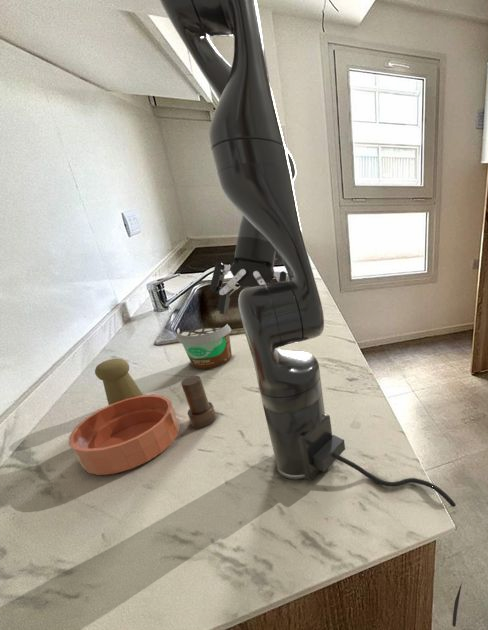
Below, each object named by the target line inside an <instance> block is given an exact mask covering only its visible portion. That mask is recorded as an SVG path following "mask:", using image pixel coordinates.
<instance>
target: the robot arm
mask: <svg viewBox="0 0 488 630" xmlns="http://www.w3.org/2000/svg"><path fill="white" fill-rule="evenodd" d="M159 1H160V4H161V7H162V8H163V10H164V12H165V13H166V15H167V18H168V19H169V21H170V23H171V24H172V26H173V28H174V29H175V31H176V33H177V34H178V36H179V38H180V39H181V41H182V43H183V44H184V46H185V47H186V49H187V51H188V53H189V54H190V55H191V57H192V59H193V61H194V63H195V64H196V66H197V67H198V69H199V70H200V72H201V74H202V75H203V77H204V78H205V80H206V81H207V83H208V84H209V86H210V87H211V89H212V91H213V92H214V94H215V96H216V97H217V99H218V102H217V104H216V107H215V109H214V112H213V115H212V117H211V121H210V125H209V130H208V131H209V132H208V141H209V146H210V151H211V155H212V159H213V164H214V167H215V172H216V175H217V178H218V179H217V180H218V183H219V186H220V188H221V191H222V192H223V194H224V196H225V198H227V200H228V201H229V202H230V203H231V205H232V206H233V207H234V209H236V210H237V211H238V212H239V213H240V214H241V215H242V216H241V219H240V223H239V227H238V232H237V238H236V243H235V249H234V250H235V251H234V258H233V262H232V263H231V265H229V264H224V263H222V262H220V261H216V263H215V264H214V268H213V272H212V276H211V277H212V278H211V281H210V285H209V290H210V291H211V292H214V293H216V294H218V302H217V303H218V304H217V311H218V312H219V314H220V315H228V313H229V307H230V302H231V297H230V296H231V295H232V294H233V293H234V292H235V291H237V290H238V289H240V288H243V289H241V290H240V292H239V294H238V299H237V307H238V312H239V317H240V321H241V325H242V328H243V331H244V335H245V337H246V341H247V344H248V346H249V351H250V354H251V357H252V362H253V364H254V365H253V366H254V371H255V375H256V380H257V385H258V390H259V394H260V398H261V402H262V407H263V411H264V417H265V420H266V421H265V422H266V426H267V429H268V433H269V438H270V442H271V447H272V451H273V455H274V461H275V466H276V470H277V472H278V474H279V475H280V476H282V477H284V478H285V479H289V480H303V479H307V480H308V481H312V480H313V479H314V478H315V477H316V476H317V475H318V474H319V473H320V472H321V471H322V472H323V473H324V472H326V471H327V469H328V468H329V467H330V466H331V465H332V464H333V463H334V462H335V461H336V460H337V461H340V462H341V463H343V464H345V465H347V466H349V467H351V468H353V469H354V470H355V471H356V472H357V471H358V472H359V473H360V474H362V475H363V476H364V477H366V478H368V479H369V480H372V481H373V482H375V483H377V484H379V485H381V486H385V487H389V488H390V487H400V486H402V485H406V484H412V483H414V484H418V485H422V486H425V487H428V488H430V489H431V490H433V489H434V490H433V491H435V492H436V493H438V494H439V495H440V496H441V497H442V498H443V499H444V500H445V501H446V502H447V503H448V504H449V506H451V507H453V508H455V507H457V504H456V502H455V501H454V500H453V499H452V498H451V497H450V496H449V495H448V494H447V493H446V492H445V491H444V490H443V489H442V488H441V487H439V486H438V485H435V484H434V483H432V482H430V481H428V480H424V479H420V478H416V477H415V478H414V477H409V478H404V479H401V480H397V481H387V480H383V479H381V478H379V477H377V476H376V475H374V474H372V473H370V472H369V471H367V470H366V469H364V468H362V467H361V466H360V465H358V464H356V463H355V462H353V461H351V460H349V459H347V458H345V457H343V456H341V455H342V453H343V452H344V451H345V450H346V445H345V439H344V438H341V437H339V436H337V435H335V434H333V431H332V430H333V429H332V423H331V417H330V415H329V414H328V413H326V410H325V409H326V408H325V401H324V396H323V395H324V394H323V387H322V386H323V385H322V378H321V370H320V363H319V361H318V359H317V357H315V355H313V353H310V352H307V351H304V350H297V349H285V348H282V347H286V346H290V345H293V344H297V343H300V342H304V341H308V340H312V339H315V338H318V337H320V336H321V335H322V334H323V331H324V329H325V316H324V315H325V314H324V308H323V303H322V300H321V296H320V292H319V290H318V286H317V281H316V278H315V274H314V270H313V267H312V263H311V260H310V257H309V253H308V249H307V247H306V246H307V245H306V242H305V239H304V233H303V230H302V225H301V220H300V217H299V212H298V205H297V201H296V195H295V189H294V181H295V179H296V176H297V169H296V164H295V161H294V159H293V156H292V153H290V151H289V150H288V148H287V147H286V144H285V141H284V136H283V131H282V128H281V124H280V120H279V116H278V112H277V108H276V103H275V99H274V95H273V90H272V86H271V85H272V84H271V80H270V75H269V69H268V63H267V62H268V61H267V57H266V51H265V44H264V37H263V32H262V31H263V30H262V25H261V18H260V12H259V6H258V0H159ZM211 38H234V39H233V58H232V64H230V63H229V62H228V61H227V60H226V58H225V57H224V56H223V55H222V54H221V53H220V51H219V50H218V49H217V48H216V46H215V44H214V43H213V42H212V39H211ZM276 254H277V256H278V257H279V258H280V260H281V262H282V264H283V265H284V268H285V270H286V271H284V270H282V271H275V269H274V267H275V260H276ZM229 272H230V273H231V274H232V278H231V279H229V280H228V281H227V282H226V284H225V285H224V279H225V276H226V275H228V274H229ZM274 278H276V281H277V282H271V281H272V280H273V279H274ZM270 282H271V283H270ZM223 285H224V286H223ZM432 486H433V487H432ZM462 585H463V582H461V583H460V586H459V589H458V590H457V594H456V597H455V600H454V605H453V606H454V607H453V611H452V612H453V613H452V624H451V625H452V627H453V628H456V626H457V616H458V608H459V602H460V596H461V589H462Z"/></svg>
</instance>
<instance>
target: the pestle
mask: <svg viewBox="0 0 488 630" xmlns="http://www.w3.org/2000/svg"><path fill="white" fill-rule="evenodd" d="M180 385H181V387H182V391H183V394H184V396H185V399H186V402H187V405H188V407H189V409H188V410H187V417H188V419H189V422H190V424H191V427H193V428H197V429H201V428H205V427H207V426H210V425H211V424H212V423H214V422H215V421H216V419H217V413H216V410H215V407H214V404H213V403H212V402H210V401H209V400H208V396H207V394H206V390H205V387H204V384H203V380H202V378H201V376H200V375H190V376H188V377H185V378H184V379H182V380H181V382H180Z"/></svg>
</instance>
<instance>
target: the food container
mask: <svg viewBox="0 0 488 630" xmlns="http://www.w3.org/2000/svg"><path fill="white" fill-rule="evenodd" d="M231 332H232V328H231V327H230V325H229V324H228V323H226V324H225V326H222V327H201V328H195V329H189V330H180V327H178V328H177V330H176V342H178V343H179V344H181V345H182V346H183V348H184V350H185V353H186V354H187V357H188V359H189V361H190V363H191V365H192V367H193V368H195V369H197V370H209V369H214V368H218V367H220V366H222V365H225V364H226V363H227V362H229V361H230V360H231V359H232V358H233V354H232V345H231V338H230V333H231Z"/></svg>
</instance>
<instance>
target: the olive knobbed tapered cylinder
mask: <svg viewBox="0 0 488 630" xmlns="http://www.w3.org/2000/svg"><path fill="white" fill-rule="evenodd" d="M129 371H130V364H129V362H128V361H127V360H126V359H124V358H119V357H118V358H117V357H116V358H110V359H107V360H104V361H102V362H100V363H99V364H97V365H96V366H95V370H94V374H95V376H96V377H97V379H98V380H101V381H102V384H103V387H104V392H105V396H106V400H107V404H108V405H111V404H113V403H116V402H119V401H121V400H124V399H127V398H132V397H137V396H141V395H144V394H143V392H142V390H141V389H140V388H139V386H138V385H137V384H136V382H135V380H134V379H133V377H132V376H131V374H130V373H129Z"/></svg>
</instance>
